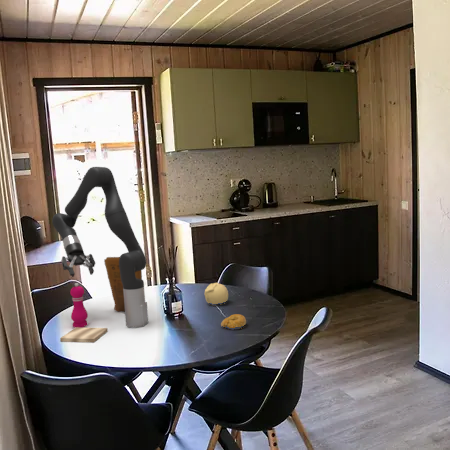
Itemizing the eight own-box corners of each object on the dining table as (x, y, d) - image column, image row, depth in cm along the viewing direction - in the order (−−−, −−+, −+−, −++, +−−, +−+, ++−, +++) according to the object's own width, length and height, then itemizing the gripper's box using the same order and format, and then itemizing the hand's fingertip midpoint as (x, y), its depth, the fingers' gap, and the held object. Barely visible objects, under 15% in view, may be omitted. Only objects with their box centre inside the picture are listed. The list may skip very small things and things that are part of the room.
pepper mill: (83, 328, 213) (79, 284, 211) (69, 328, 215) (64, 284, 212) (91, 323, 220) (87, 280, 218) (77, 322, 222) (73, 280, 219)
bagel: (221, 323, 211) (221, 313, 211) (246, 322, 211) (245, 312, 210) (220, 331, 201) (220, 320, 201) (246, 330, 201) (246, 320, 200)
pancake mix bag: (142, 314, 230) (137, 257, 226) (107, 312, 236) (102, 256, 232) (148, 310, 236) (144, 254, 233) (114, 308, 242) (110, 254, 239)
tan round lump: (207, 300, 248) (206, 280, 246) (230, 300, 246) (229, 280, 245) (203, 307, 236) (201, 286, 235) (227, 307, 235) (225, 285, 233)
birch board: (107, 331, 208) (107, 328, 208) (94, 342, 195) (93, 338, 195) (76, 330, 211) (75, 327, 211) (60, 341, 198) (60, 338, 198)
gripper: (59, 243, 215) (68, 271, 207) (89, 240, 224) (100, 267, 216) (55, 253, 220) (65, 281, 211) (85, 251, 228) (95, 277, 220)
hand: (82, 274), depth 214 cm, fingers open, 8 cm apart
